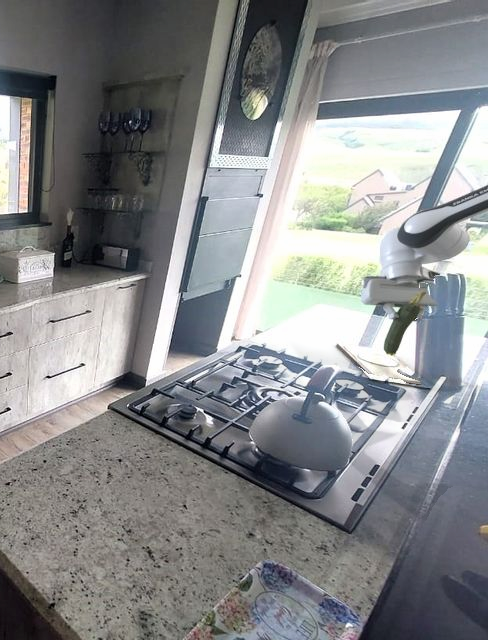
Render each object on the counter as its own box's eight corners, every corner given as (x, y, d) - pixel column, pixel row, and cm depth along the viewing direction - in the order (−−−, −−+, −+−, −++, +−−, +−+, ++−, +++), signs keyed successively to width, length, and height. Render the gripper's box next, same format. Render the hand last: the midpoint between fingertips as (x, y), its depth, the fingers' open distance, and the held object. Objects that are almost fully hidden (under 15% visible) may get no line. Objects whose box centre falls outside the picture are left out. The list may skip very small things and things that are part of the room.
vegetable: (379, 355, 122) (414, 291, 112) (373, 350, 125) (406, 287, 116) (397, 358, 121) (434, 293, 111) (390, 352, 124) (425, 288, 115)
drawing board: (385, 352, 134) (387, 349, 133) (431, 389, 112) (433, 385, 111) (335, 345, 138) (337, 342, 137) (370, 379, 116) (372, 376, 115)
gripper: (369, 269, 120) (372, 311, 116) (451, 275, 116) (457, 318, 112) (354, 280, 126) (356, 320, 122) (431, 286, 122) (436, 328, 118)
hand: (405, 319), depth 117 cm, fingers closed on vegetable, 4 cm apart
